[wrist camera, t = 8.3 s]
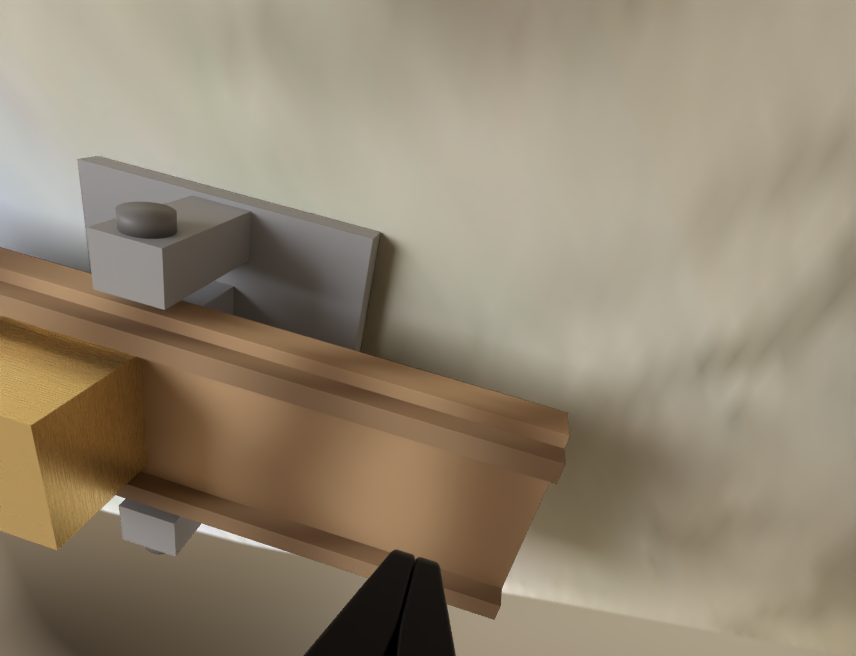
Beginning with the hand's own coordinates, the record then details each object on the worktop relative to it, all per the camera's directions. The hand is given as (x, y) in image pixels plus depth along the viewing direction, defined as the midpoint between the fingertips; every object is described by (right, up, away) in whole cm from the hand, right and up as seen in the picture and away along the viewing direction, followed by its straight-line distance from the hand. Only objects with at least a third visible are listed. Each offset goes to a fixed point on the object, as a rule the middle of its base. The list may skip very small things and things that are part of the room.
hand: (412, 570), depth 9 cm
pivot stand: (-9, +4, +14) cm, 17 cm away
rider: (-12, +2, +9) cm, 16 cm away
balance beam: (-10, +1, +10) cm, 14 cm away
